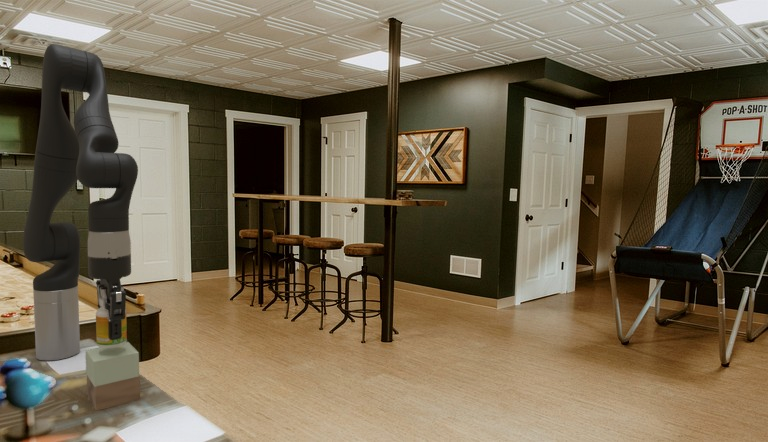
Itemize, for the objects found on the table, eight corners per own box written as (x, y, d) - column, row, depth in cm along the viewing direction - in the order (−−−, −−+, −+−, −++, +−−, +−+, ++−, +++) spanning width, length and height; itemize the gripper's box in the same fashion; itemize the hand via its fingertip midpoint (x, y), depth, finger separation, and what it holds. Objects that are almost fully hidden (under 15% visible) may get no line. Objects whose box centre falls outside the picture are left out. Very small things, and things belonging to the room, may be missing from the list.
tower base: (87, 396, 100) (86, 373, 99) (129, 386, 105) (129, 364, 104) (95, 411, 94) (95, 386, 93) (140, 399, 99) (139, 376, 99)
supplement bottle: (113, 349, 95) (112, 301, 94) (90, 347, 96) (88, 299, 95) (132, 340, 100) (131, 295, 99) (110, 338, 101) (109, 293, 100)
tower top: (86, 373, 99) (85, 350, 99) (128, 364, 104) (128, 341, 104) (94, 386, 93) (93, 361, 93) (139, 376, 99) (138, 352, 98)
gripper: (80, 249, 99) (83, 329, 101) (96, 260, 89) (98, 349, 90) (121, 246, 104) (122, 322, 106) (140, 256, 93) (141, 340, 95)
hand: (111, 334), depth 98 cm, fingers closed on supplement bottle, 5 cm apart
